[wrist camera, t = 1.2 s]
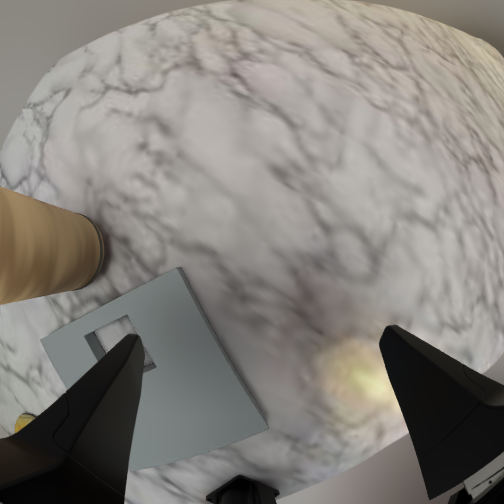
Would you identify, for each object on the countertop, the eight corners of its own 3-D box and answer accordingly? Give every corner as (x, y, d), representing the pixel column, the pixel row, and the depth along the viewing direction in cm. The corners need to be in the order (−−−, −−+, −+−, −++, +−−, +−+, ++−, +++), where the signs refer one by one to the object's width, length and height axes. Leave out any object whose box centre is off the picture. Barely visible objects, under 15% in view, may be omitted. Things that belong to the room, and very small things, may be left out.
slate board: (265, 417, 23) (269, 428, 21) (135, 460, 21) (131, 471, 19) (180, 266, 22) (176, 267, 20) (50, 335, 20) (40, 339, 18)
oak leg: (86, 302, 21) (-34, 340, 6) (46, 254, 21) (-72, 248, 6) (126, 249, 22) (7, 234, 7) (83, 202, 21) (-31, 150, 6)
